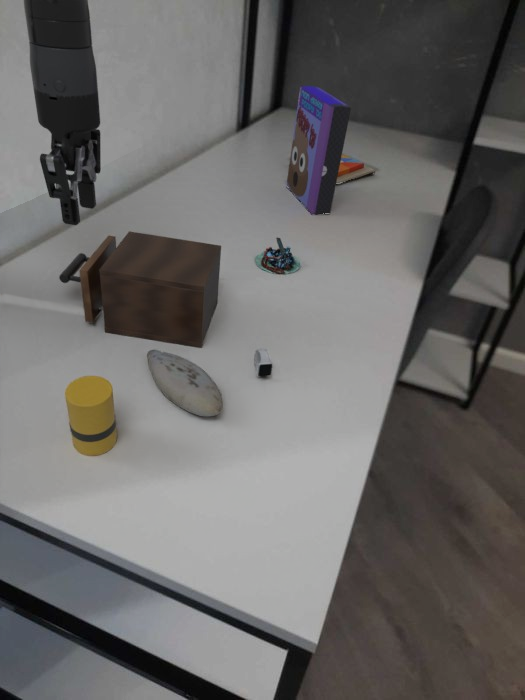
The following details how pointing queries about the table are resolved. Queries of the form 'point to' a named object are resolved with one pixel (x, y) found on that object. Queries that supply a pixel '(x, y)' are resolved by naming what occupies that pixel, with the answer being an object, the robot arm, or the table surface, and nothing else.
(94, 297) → the drawer
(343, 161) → the wooden puzzle
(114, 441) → the tape canister
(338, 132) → the cereal box
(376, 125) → the table surface
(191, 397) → the decorative stone
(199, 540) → the table surface
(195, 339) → the cabinet
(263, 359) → the smartwatch
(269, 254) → the dish
